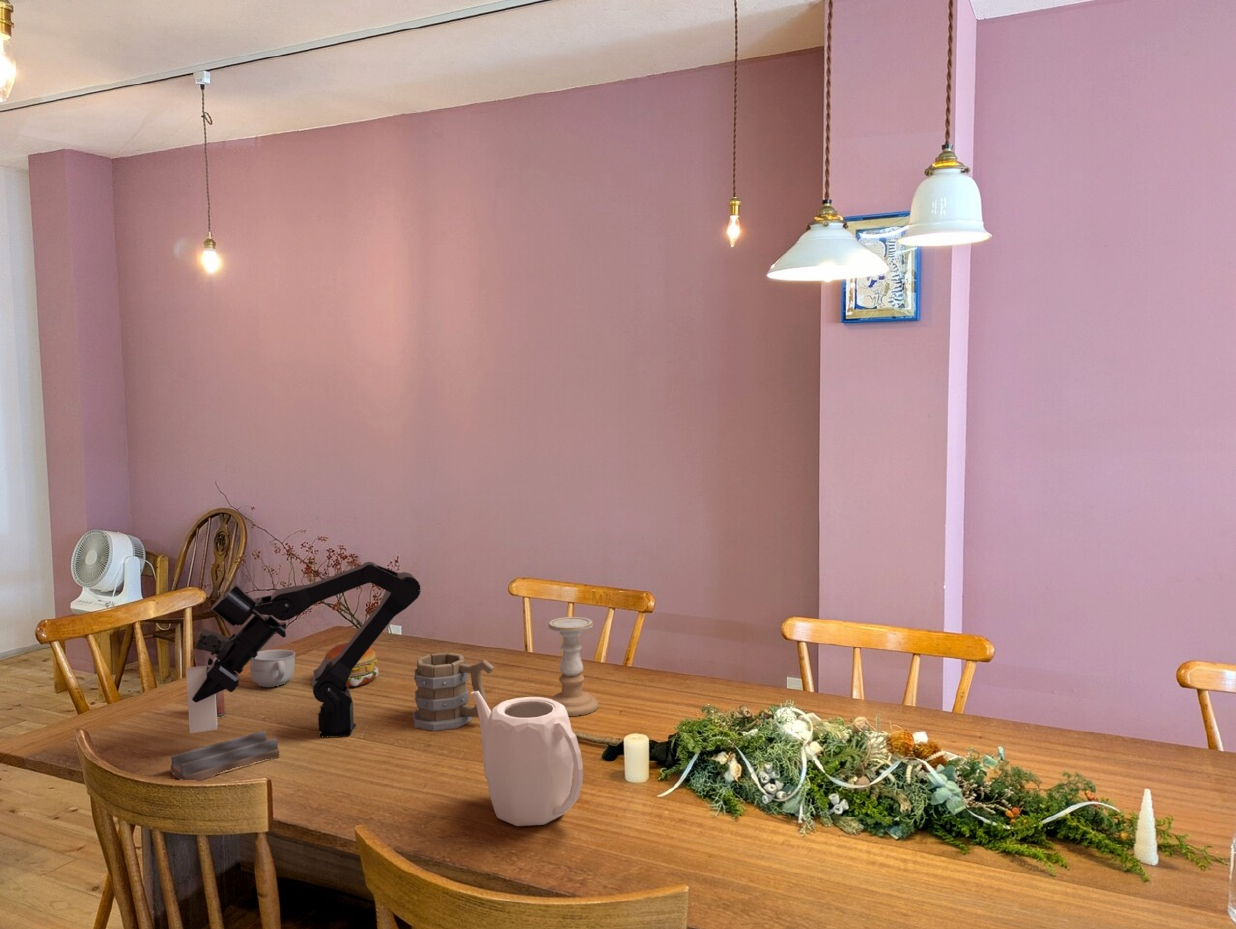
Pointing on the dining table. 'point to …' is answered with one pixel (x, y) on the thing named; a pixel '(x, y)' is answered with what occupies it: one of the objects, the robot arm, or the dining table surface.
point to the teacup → (272, 667)
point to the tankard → (446, 691)
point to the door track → (223, 756)
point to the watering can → (529, 759)
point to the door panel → (200, 702)
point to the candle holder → (573, 667)
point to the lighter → (220, 704)
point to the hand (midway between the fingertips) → (194, 698)
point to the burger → (358, 666)
